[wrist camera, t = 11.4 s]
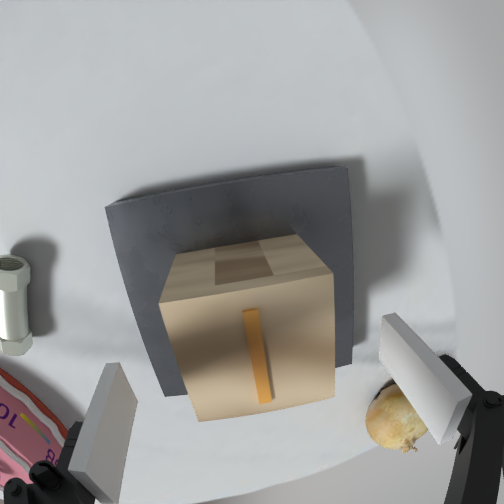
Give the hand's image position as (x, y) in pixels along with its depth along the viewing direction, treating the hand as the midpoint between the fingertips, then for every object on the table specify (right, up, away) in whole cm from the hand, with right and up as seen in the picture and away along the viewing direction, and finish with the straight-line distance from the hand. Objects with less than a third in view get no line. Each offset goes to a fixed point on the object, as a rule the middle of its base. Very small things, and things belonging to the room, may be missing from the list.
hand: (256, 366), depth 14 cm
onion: (+15, -11, +16) cm, 25 cm away
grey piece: (-1, +3, +9) cm, 10 cm away
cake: (-34, -17, +13) cm, 40 cm away
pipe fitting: (-22, +2, +8) cm, 24 cm away
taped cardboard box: (-1, +2, +7) cm, 8 cm away
